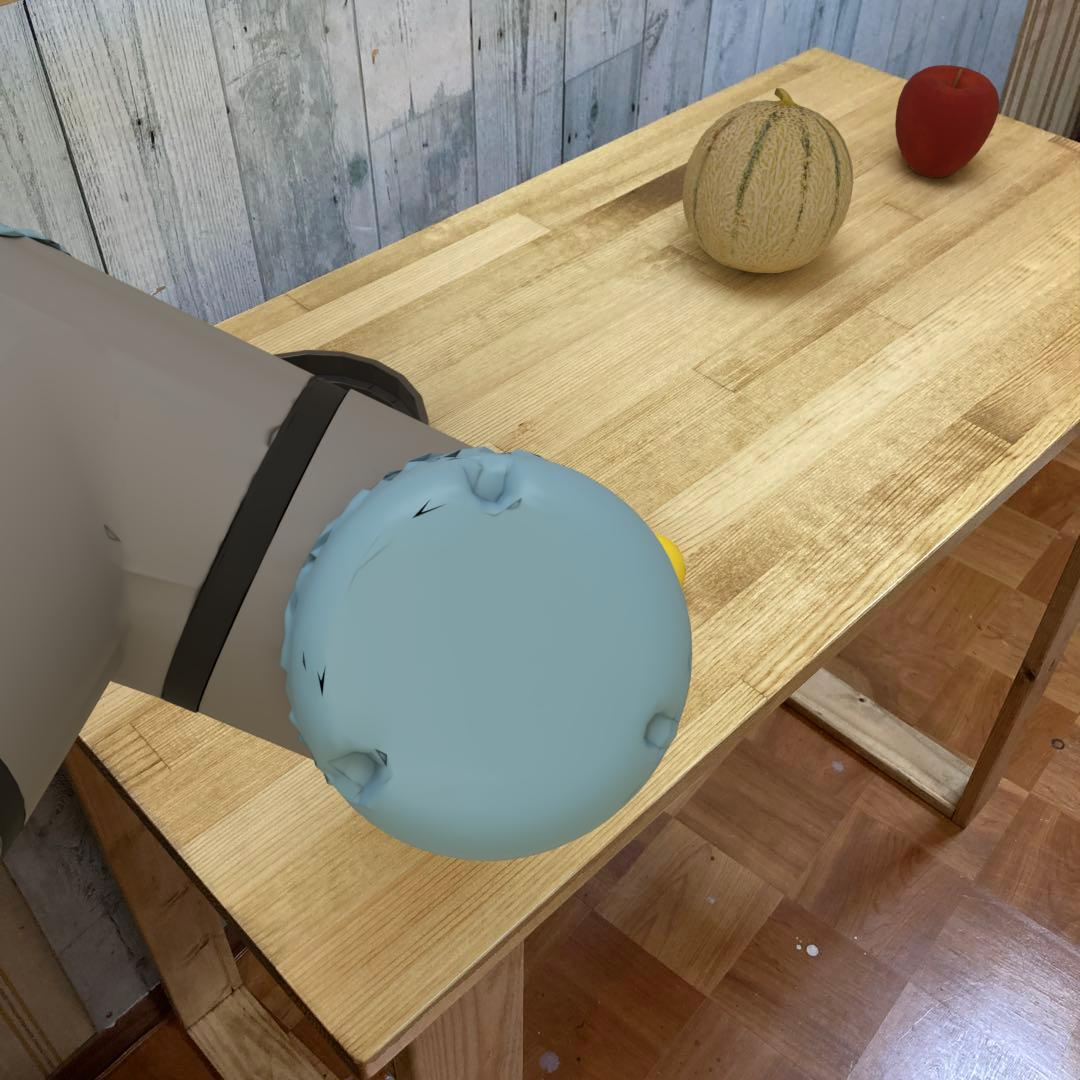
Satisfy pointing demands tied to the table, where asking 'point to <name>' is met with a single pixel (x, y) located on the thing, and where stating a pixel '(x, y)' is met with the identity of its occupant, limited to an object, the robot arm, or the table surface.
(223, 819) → the table surface
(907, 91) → the apple
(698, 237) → the cantaloupe
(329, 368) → the pan
